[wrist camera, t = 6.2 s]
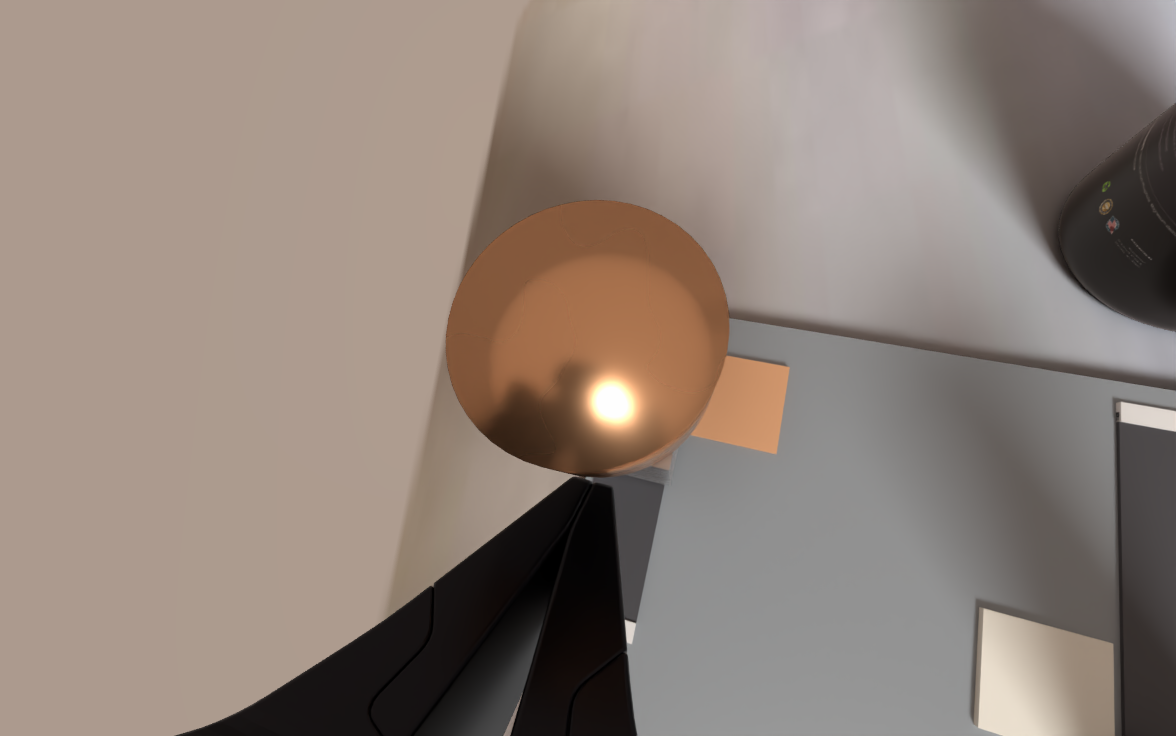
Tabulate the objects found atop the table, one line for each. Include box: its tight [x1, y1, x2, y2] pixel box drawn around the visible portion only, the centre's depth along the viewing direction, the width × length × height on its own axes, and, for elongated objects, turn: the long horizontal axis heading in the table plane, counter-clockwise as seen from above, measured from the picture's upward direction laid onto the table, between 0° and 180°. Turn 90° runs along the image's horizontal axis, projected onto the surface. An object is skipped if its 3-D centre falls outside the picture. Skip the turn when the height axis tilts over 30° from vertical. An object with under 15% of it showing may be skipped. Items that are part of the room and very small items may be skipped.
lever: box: [446, 200, 730, 486], centre depth 11 cm, size 4×4×11 cm
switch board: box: [585, 318, 1176, 736], centre depth 14 cm, size 18×18×1 cm
